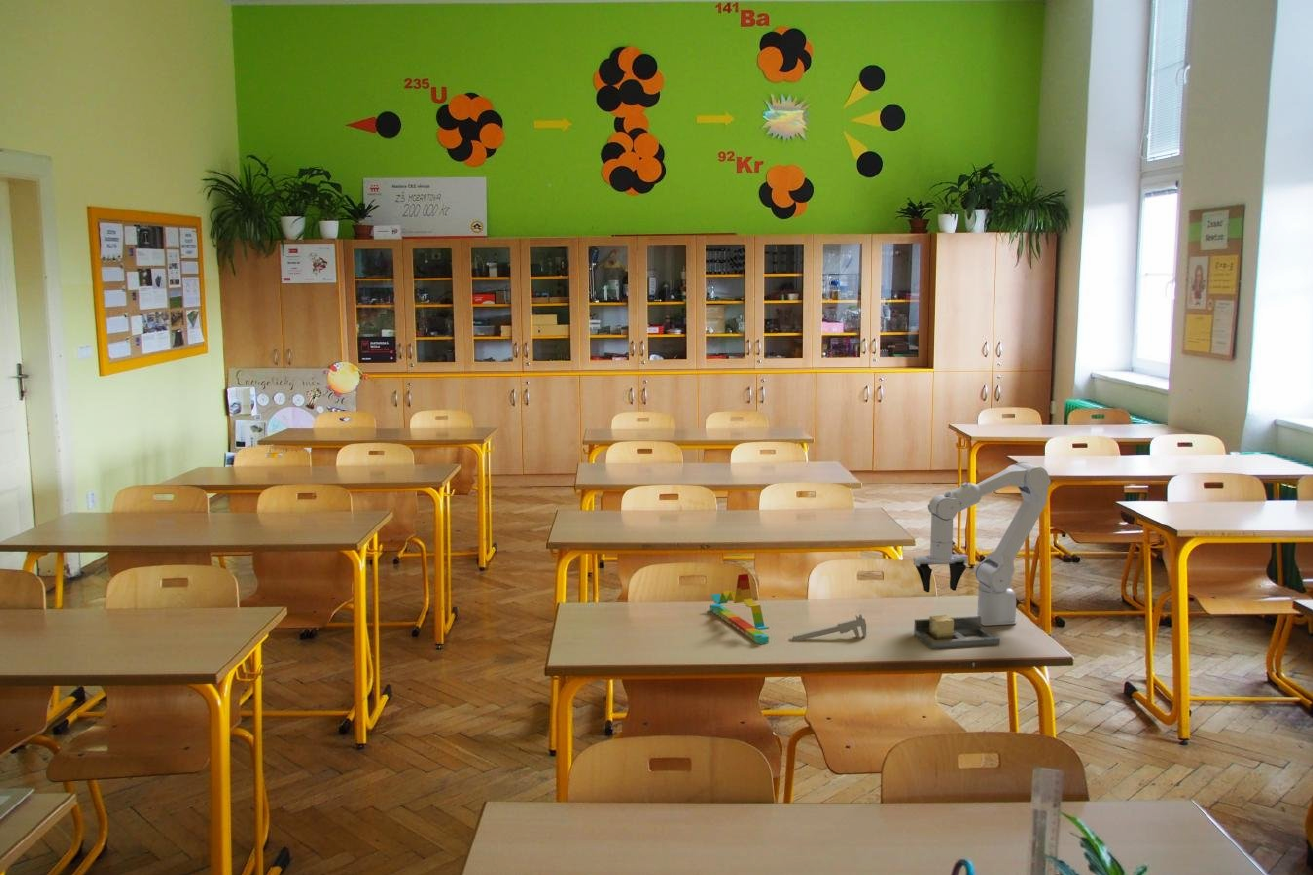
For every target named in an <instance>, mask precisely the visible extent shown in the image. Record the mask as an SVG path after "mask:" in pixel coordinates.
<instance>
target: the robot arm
mask: <svg viewBox="0 0 1313 875" xmlns="http://www.w3.org/2000/svg"><path fill="white" fill-rule="evenodd" d="M1051 483H1052V480H1051V478H1050V476H1049V473H1048V470H1046V469H1045V468H1044V467H1043V466H1042V467H1041V466H1036V465H1035V464H1031V463H1029V462H1027V461H1019V462H1016V463H1014V464H1011V465H1009V466H1007V467H1006V468H1005V469H1003V470H1001V471H999V472H997V473H995V474H994V475H991V476H990V477H988V478H985V479H984V480H982V481H980V482H979V483H976V484H974V483H972V482H968V483H967V482H963V483H961V484H960V485H961V486H960V487H957V488H955V489H953V490H951V491H949V490H946V491H945V492H944V495H943V494H936V495H934V496H932V497H931V499H930V500H929V502H928V503H929V504H927V510H928V512H929V513H930V515H931V520H930V545H929V554H927V555H923V556H916V557H915V556H914V557H913V565H914V566H915V568H916V570H917V572H918V574H919V576H920V581H921V584H922V587H923V591H924V592H925V593H930V588H931V577H932V576H931V575H932V571H933V569H932V568H930V566H929V565H931V566H933V565H949V577H950V578H949V588H950V590H952V591H957V588H958V584H959V582H960V579H961V577H962V575H963V573H964V572H965V570H966V569H967V568H966V567H967V565H966V564H968V562H969V556H968V555H966V554H953V546H954V544H953V543H954V518H956V516H957V515H958V513H959V512H961V511H963V510H966V509H969V507H970V508H971V507H972V506H974V505H977V504H979V503H980V502H981V500H982V497H984V496H986V495H988V494H991V493H993V492H996V491H998V490H1000V489H1003V488H1006V487H1009V486H1012V487H1013V486H1014V487H1016V488H1018V489H1019V491H1020V494H1021V496H1022V499H1023V500H1022V503H1021V504H1020V506H1019V508H1018V509H1017V511H1016V513H1015V515H1014V517H1013V518H1012V520H1011V522H1010V524H1009V525H1008V527H1007V529H1006V530H1005V532H1004V533H1003V536H1002V537H1001V539H1000V541H999V543H998V545H997V546H996V548H995V550H994V551H991V552H990V553H989V554H987V555H986V556H985V558H984V559H983V560H982V561H981V562H980V563H978V564H977V566H976V567H975V570H974V575H975V578H976V580H977V581H978V595H977V596H978V597H977V614H976V615H975V614H972V615H970V617H972V616H980V617H981V626H984V627H987V626H988V627H989V626H1002V625H1003V626H1006V625H1017V624H1018V623H1017V621H1016V616H1017V614H1016V611H1017V597H1016V592H1015V591H1014V589H1012V588H1010V587H1011V585H1012V580H1013V576H1014V573H1015V570H1016V569H1015V564H1014V563H1015V562H1014V561H1015V559H1016V557H1017V556H1018V554H1019V552H1020V551H1021V548H1022V547H1023V545H1024V543H1025V541H1026V540H1027V538H1028V537H1029V535H1030V534H1031V531H1033V529H1034V526H1035V524H1036V523H1037V521H1038V519H1039V517H1040V516H1041V514H1042V512H1043V510H1044V508H1045V506H1046V504H1047V502H1048V501H1047V500H1048V489H1049V487H1050V485H1051Z"/></svg>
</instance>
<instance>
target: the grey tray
mask: <svg viewBox="0 0 1313 875" xmlns="http://www.w3.org/2000/svg"><path fill="white" fill-rule="evenodd" d="M950 618H951V619H953V620H954V637H953V639H948V640H934V639H933V638H931V637H930V636H929V618H923V619H921V618H920V619H914V627H913V628H914V630H913V635H914V636H915V637H916V638H918V639H919V640H920V639H921V642H923V643H924V644H925V643H926V645H927V646H928V647H929V648H931V649H934V650H935V649H948V648H965V647H979V646H980V647H982V646H993V645H994V646H996V645H1000V638H999V637H997V636H996V635H994V634H993V633H992V632H990V631H988V630H987V629H985V628H984V627H982V624H981V617H980V616H972V617H971V616H959V617H950ZM973 635H977V636H979V637H965V636H973Z"/></svg>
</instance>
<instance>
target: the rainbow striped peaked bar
mask: <svg viewBox="0 0 1313 875" xmlns="http://www.w3.org/2000/svg"><path fill="white" fill-rule="evenodd" d="M749 580H750V579H749V574H747V573H744V574H738V576H737V583H736V590H733V591H732V590H723V591H722V592H721V594H720V593H713V594H710V597H711V598H712V600H713V604H709V611H710V612H712V613H713V614H714V613H715V614H714V615H716V616H717V615H718V616H717V617H718V618H720V617H721V618H722V620H723V621H724V620H725V621H724V622H726V623H727V624H729V625H730V624H731V625H732V626H731V625H730V626H731V627H733V628H734V627H735V628H734V629H735V630H737V631H738V632H741V633H742V634H743V635H744V636H746V638H748V639H750V640H751V641H753V642H755V643H756V644H757V645H762V644H768V643H770V641H769V640H770V636H768V635H767V634H766V633H764V632H763V631H762V630H770V627H768V626H765V622H764V618H763V617H764V616H763V612H762V607H761V604H757V603H756V602H755V600H753V598H752V593H751V586H750V581H749ZM728 601H733V603H734V604H738V603H744V604H745V606H746V607H748V608H751V614H752V618H753V619H752V620H753V624H754V626H753V625H752V624H750V623H749V622H747V620H745V619H743V618H742V617H740V616H738V615H737V614H736V613H734V612H733V611H731V610H730V609H728V608H727V607H726V606H724V605H722V604H727V603H728ZM721 618H720V619H721Z"/></svg>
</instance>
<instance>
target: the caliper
mask: <svg viewBox="0 0 1313 875" xmlns="http://www.w3.org/2000/svg"><path fill="white" fill-rule="evenodd" d="M855 618H856V619H854V618H853V619H850V620H846V621H842V622H838V624H836V625H831V626H828V627H827V626H826V627H824V628H819V629H818V628H817V629H814V630H811V631H806V632H802V633H797V634H793V635H792V637H790V638H788V641H789V642H793V641H794V642H799V640H801V641H804V640H809V639H813V638H817V637H820V636H825V635H830V634H834V633H840V634H841V635H843V634H847V633H849V632H850V631H853V634H854V635H855V637H856V638H860V632H859V629H858V628H859V627H860V630H861V633H862V637H863V638H865V637H866V636H867V622H866V619H865V618H864V617H863V616H862V614H861V613H859V615H858V616H857V615H855Z"/></svg>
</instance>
